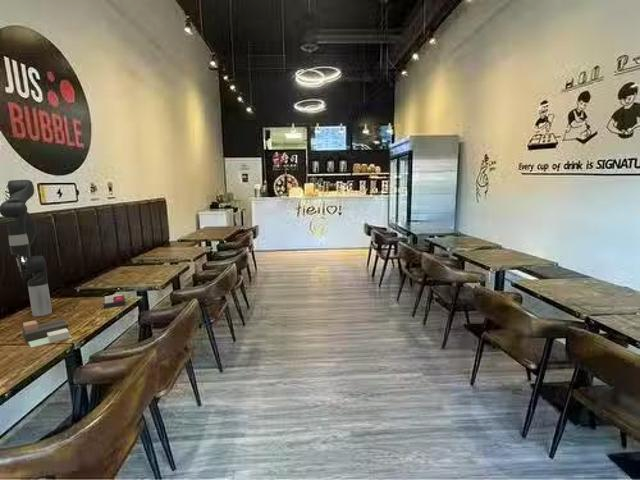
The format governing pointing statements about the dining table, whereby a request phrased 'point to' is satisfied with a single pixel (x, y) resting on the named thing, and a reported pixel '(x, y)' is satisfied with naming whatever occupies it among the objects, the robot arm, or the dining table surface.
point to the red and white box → (114, 301)
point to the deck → (44, 330)
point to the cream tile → (58, 335)
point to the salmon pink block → (30, 326)
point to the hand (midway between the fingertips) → (24, 278)
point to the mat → (42, 342)
